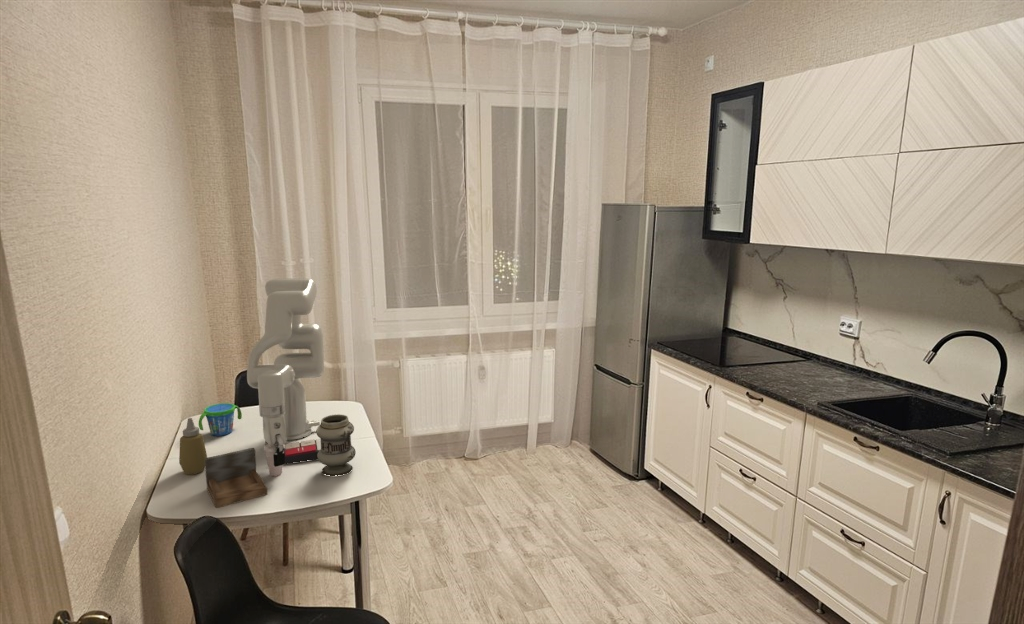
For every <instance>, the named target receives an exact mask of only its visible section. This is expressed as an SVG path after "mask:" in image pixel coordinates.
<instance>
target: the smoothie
mask: <svg viewBox="0 0 1024 624" xmlns="http://www.w3.org/2000/svg"><path fill="white" fill-rule="evenodd" d="M277 444H278V443H277ZM274 445H276V444H274ZM277 448H278V447H276V451H277ZM283 448H285V445H284V446H283ZM263 452H264V453H265V457H266V461H267V467H268V473H269V476H270V477H278V476H281V475H282V474H283V467H284V465H281V466H276V467H275V466H274V457H273V454H274V450H273V447H271V446H270V445H269V444H266V445H265V444H264V446H263ZM281 473H282V474H281ZM280 474H281V475H280ZM277 475H278V476H277Z"/></svg>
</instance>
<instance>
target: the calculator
mask: <svg viewBox="0 0 1024 624" xmlns="http://www.w3.org/2000/svg"><path fill="white" fill-rule="evenodd" d="M320 450H321V439H320V438H318V439H309V440H301V441H296V442H289V443H287V444H286V445H285V448H284V456H285V464H284V465H288V464H287V463H292V464H294V463H293V462H299V463H301V462H300V461H306V462H308V461H307V460H312V461H317V460H316V459H318V458H317V455H318V452H319V451H320Z"/></svg>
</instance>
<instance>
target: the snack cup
mask: <svg viewBox="0 0 1024 624" xmlns="http://www.w3.org/2000/svg"><path fill="white" fill-rule="evenodd" d="M235 410H236V411H237V420H242V418H243V416H242V415H243V414H242V410H241V408H240V407H239V406H238V405H235V404H233V403H230V402H229V403H226V402H225V403H223V402H222V403H216V404H215V403H214V404H210V405H209V406H207V407H205V408H204V409H203V412H202V413H201V414H200V416H199V419H198V428H199V430H201V431H204V427H203V419H204V418H206V421H207V425H208V430H209V432H210V434H211V436H218V437H221V436H226V435H228V434H231V433H232V432H233V430H234V420H235V419H234V418H235V415H234V414H235Z"/></svg>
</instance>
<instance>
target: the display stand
mask: <svg viewBox="0 0 1024 624" xmlns="http://www.w3.org/2000/svg"><path fill="white" fill-rule="evenodd" d="M256 461H257V460H256V449H255V448H254V447H250V448H246V449H241V450H235V451H233V452H232V451H231V452H228V453H227V452H226V453H222V454H219V455H218V454H217V455H213V456H209V457H208V456H207V458H205V469H204V471H205V482H206V490H207V492H208V493H209V496H210V499H211V500H212V502H213V505H214V506H215V508H221V507H224V506H228V505H231V504H235V503H236V504H237V503H239V502H243V501H246V500H250V499H254V498H258V497H262V496H266V495H268V488H267V486H266V484H265V482H264V480H263V479H262V477H261V476H260V475H259V474H258V472H257V462H256Z"/></svg>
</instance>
